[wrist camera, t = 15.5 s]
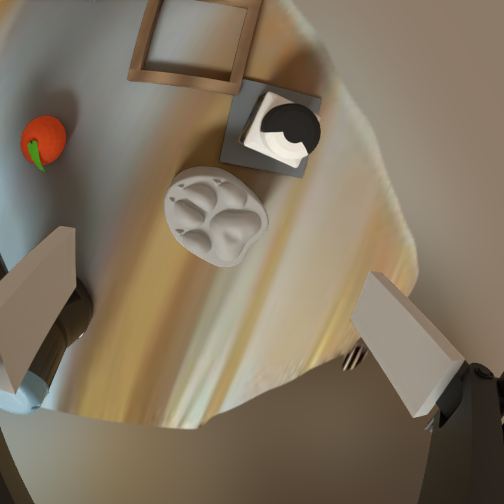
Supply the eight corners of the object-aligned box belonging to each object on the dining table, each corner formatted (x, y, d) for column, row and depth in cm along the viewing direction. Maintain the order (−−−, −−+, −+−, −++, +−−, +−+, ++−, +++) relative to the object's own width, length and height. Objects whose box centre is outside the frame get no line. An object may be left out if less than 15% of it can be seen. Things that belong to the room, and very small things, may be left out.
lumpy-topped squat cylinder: (225, 255, 49) (230, 282, 41) (153, 207, 44) (143, 226, 36) (268, 201, 46) (282, 219, 38) (196, 148, 42) (193, 154, 34)
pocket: (130, 81, 36) (126, 79, 35) (156, -12, 31) (154, -17, 29) (237, 96, 39) (238, 95, 38) (260, 3, 34) (262, -2, 32)
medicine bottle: (258, 95, 39) (278, 85, 28) (304, 116, 41) (338, 117, 30) (237, 141, 41) (248, 148, 31) (283, 161, 43) (310, 176, 33)
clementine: (79, 160, 39) (59, 168, 33) (42, 173, 39) (19, 183, 33) (69, 108, 36) (47, 108, 30) (31, 124, 36) (6, 127, 29)
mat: (219, 161, 43) (219, 161, 42) (237, 78, 38) (237, 77, 38) (301, 177, 45) (302, 178, 45) (319, 99, 41) (321, 99, 40)
